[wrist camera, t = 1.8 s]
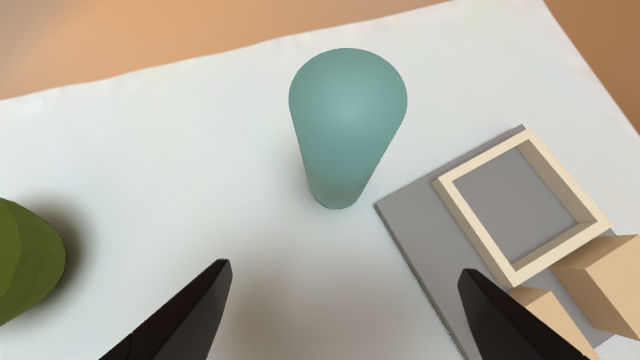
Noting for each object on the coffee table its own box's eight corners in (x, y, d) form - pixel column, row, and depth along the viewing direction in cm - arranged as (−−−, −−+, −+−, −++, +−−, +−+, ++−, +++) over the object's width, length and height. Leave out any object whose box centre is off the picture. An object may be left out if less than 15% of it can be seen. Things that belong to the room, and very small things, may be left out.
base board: (491, 401, 19) (534, 441, 15) (373, 205, 24) (383, 195, 19) (650, 295, 21) (727, 305, 17) (512, 129, 25) (548, 106, 21)
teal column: (325, 218, 23) (323, 173, 10) (301, 173, 25) (269, 77, 11) (372, 193, 24) (431, 117, 10) (346, 150, 25) (368, 31, 12)
